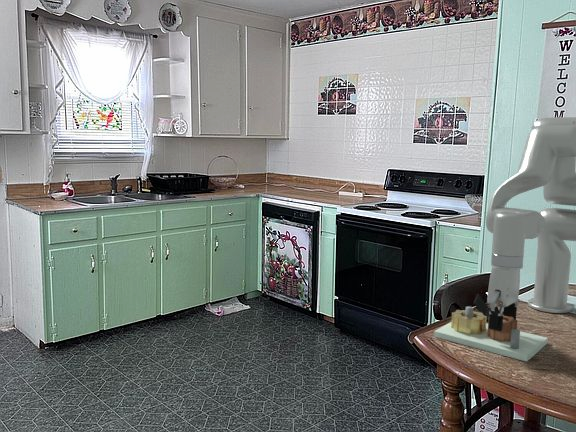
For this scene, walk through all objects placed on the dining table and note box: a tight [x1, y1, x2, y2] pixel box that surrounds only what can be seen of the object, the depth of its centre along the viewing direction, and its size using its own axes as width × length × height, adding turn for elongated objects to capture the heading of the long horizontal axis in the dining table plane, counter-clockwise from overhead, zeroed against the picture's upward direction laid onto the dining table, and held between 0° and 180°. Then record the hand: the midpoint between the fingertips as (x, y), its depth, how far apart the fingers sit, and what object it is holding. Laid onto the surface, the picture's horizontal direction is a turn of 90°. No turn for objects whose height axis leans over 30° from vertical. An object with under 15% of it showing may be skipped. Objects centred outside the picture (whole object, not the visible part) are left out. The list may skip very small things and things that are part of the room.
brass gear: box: [450, 309, 487, 335], centre depth 146 cm, size 9×9×4 cm
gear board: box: [433, 306, 549, 362], centre depth 142 cm, size 16×24×8 cm, turn 48°
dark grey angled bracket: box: [473, 293, 503, 323], centre depth 161 cm, size 12×7×10 cm
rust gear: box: [487, 315, 518, 342], centre depth 140 cm, size 7×7×5 cm
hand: (502, 325), depth 140 cm, fingers open, 9 cm apart
